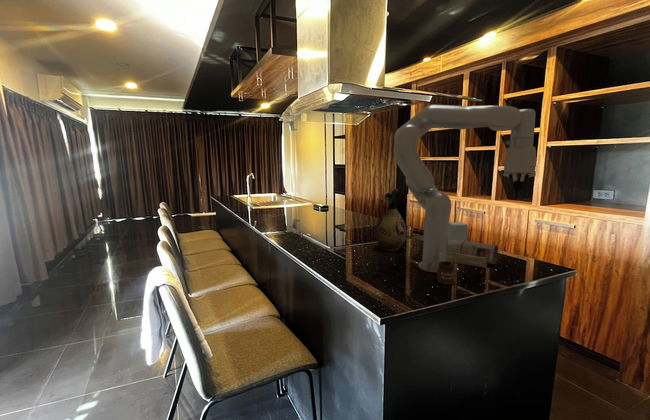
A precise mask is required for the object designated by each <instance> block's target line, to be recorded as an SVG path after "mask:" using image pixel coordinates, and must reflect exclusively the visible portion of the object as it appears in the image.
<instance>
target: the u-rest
mask: <svg viewBox="0 0 650 420" xmlns="http://www.w3.org/2000/svg"><path fill="white" fill-rule="evenodd" d="M452 255H453V253H451V252H448V256H447V262H451V261H452ZM452 263H453V264H459V265H465V266H470V267H471V266H472V267H477V268H482V269H483V268H487V266H488V264H489V263H486V257H479V256H472V255H465V254H458V253H456V255H455V258H454V259H453V262H452Z"/></svg>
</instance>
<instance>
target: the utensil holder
mask: <svg viewBox="0 0 650 420" xmlns="http://www.w3.org/2000/svg"><path fill="white" fill-rule="evenodd" d="M456 252H457V250H455V249H454V252H453V255H452V261H451V262H447V261H442V262H440V261H439V267H438V270H437V273H436V281H437V282H438V283H439V284H442V285H445V286H446V285H453V284H454V283H455V279H456V277H455V275H456V270H455V263H452V262H453V259H454V258H455V255H456ZM441 253H442V252H441ZM441 253H440V254H441ZM442 256H443V254H442ZM444 256H445V255H444ZM438 258H439V257H438ZM440 260H441V259H440Z"/></svg>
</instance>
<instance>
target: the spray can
mask: <svg viewBox="0 0 650 420" xmlns="http://www.w3.org/2000/svg"><path fill="white" fill-rule="evenodd" d="M454 249H455V250H457V252H456V253H458V254H465V255H472V256H479V257H486V263H488V264H491V265H496V264H497V259H498V253H499V246H498V244H496V245H493V244H489V243H481V242H473V241H468V240H467V241H459V240H449V241H448V252H451V253H453V252H454Z"/></svg>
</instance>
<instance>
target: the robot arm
mask: <svg viewBox="0 0 650 420" xmlns="http://www.w3.org/2000/svg"><path fill="white" fill-rule="evenodd" d="M535 127H536V110H535V109H533V108H522V109H519V108H517V107H515V106H511V105H509V106H507V105H452V104H451V105H449V104H428V105H427V106H425V107H424V108H422V109H421V110H420V111H418V112H417V113H416V114H415V115H414V116H413V117H412V118H411V119H409V120H407V121H406V122H405V123H404V124H402V125H401V126H400V127H399V128H398V129H397V130H396V131H395V133H394V135H393V139H394V144H393V157H394V159H395V162H396V165H397V166H398V167H399V169H400V171H401V172H402V174H403V175H404V176H405V184H406V186H407V188H408V190H409V191H410V193H411V194H412V196H413V197H414V198H415V200H416V201H417V202H418V204H419V206H421V208H422V209H423V210H424V217H423V218H424V219H423V229H422V230H423V236H422V237H423V239H422V260H421V261H420V262H419V263H418V268H419V269H421V270H422V271H425V272H428V273H434V274H435V273H436V274H437V270H438V267H439V261H440V262H442V261H447V256H448V233H449V223H450V218H451V212H452V200H451V198H450V196H449V194H447V193H445V192H444V191H441V190H439V189H438V188H437V187H436V185H435V179H434V175H433V174H432V172H431V171H430V170H429V169H428V167H427V166H426V164H425V162H424V161H423V160H422V158H421V157H420V155H419V153H418V150H417V143H418V141H419V139H420V138H421V137H423V136H424V135H425V134H426V133H428V132H429V131H431V129H437V128H438V129H451V130H452V129H453V130H470V129H475V128H488V129H490V130H492V131H495V132H501V131H508V130H510V138H509V140H506V141H505V145H508V146H509V147H507V148H506V152H505V156H504V164H503V165H504V166H503V174H502V176H503V177H507V178H510V179H511V180H512V182H513V190H514V191H515V193H521V192H522V190H523V188H524V182H525V181H526V179H528V178H532V177H535V176H536V173H537V172H536V168H537V167H536V165H537V150H536V146H534V138H535V137H534V136H535ZM517 174H521V175H520V179H519V180H518V175H517ZM441 252H442V253H441ZM440 253H441V254H440ZM442 254H443V256H442ZM444 255H445V256H444ZM438 257H439V258H438ZM440 259H441V260H440Z"/></svg>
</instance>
